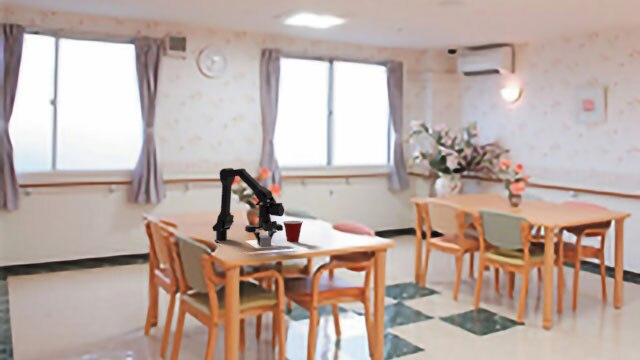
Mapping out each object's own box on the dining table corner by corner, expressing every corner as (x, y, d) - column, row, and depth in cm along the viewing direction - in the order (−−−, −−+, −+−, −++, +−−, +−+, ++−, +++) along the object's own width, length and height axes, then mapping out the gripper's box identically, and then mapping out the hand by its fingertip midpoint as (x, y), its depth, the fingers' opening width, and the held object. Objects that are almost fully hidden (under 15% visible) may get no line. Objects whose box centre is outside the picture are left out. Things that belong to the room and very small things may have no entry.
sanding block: (257, 243, 305) (257, 235, 304) (266, 243, 307) (266, 234, 306) (261, 247, 297) (261, 238, 297) (271, 246, 299) (271, 237, 299)
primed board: (245, 242, 312) (245, 240, 312) (266, 241, 317) (266, 239, 317) (256, 250, 294) (256, 248, 294) (279, 249, 299) (279, 246, 299)
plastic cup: (297, 240, 322) (297, 218, 321) (306, 244, 313) (306, 221, 312) (279, 241, 317) (279, 219, 316) (287, 245, 308) (288, 223, 306)
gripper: (251, 217, 289) (251, 249, 291) (287, 216, 297) (286, 246, 299) (245, 214, 300) (244, 244, 301) (279, 212, 307) (278, 242, 309)
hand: (263, 244), depth 302 cm, fingers closed on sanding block, 5 cm apart
